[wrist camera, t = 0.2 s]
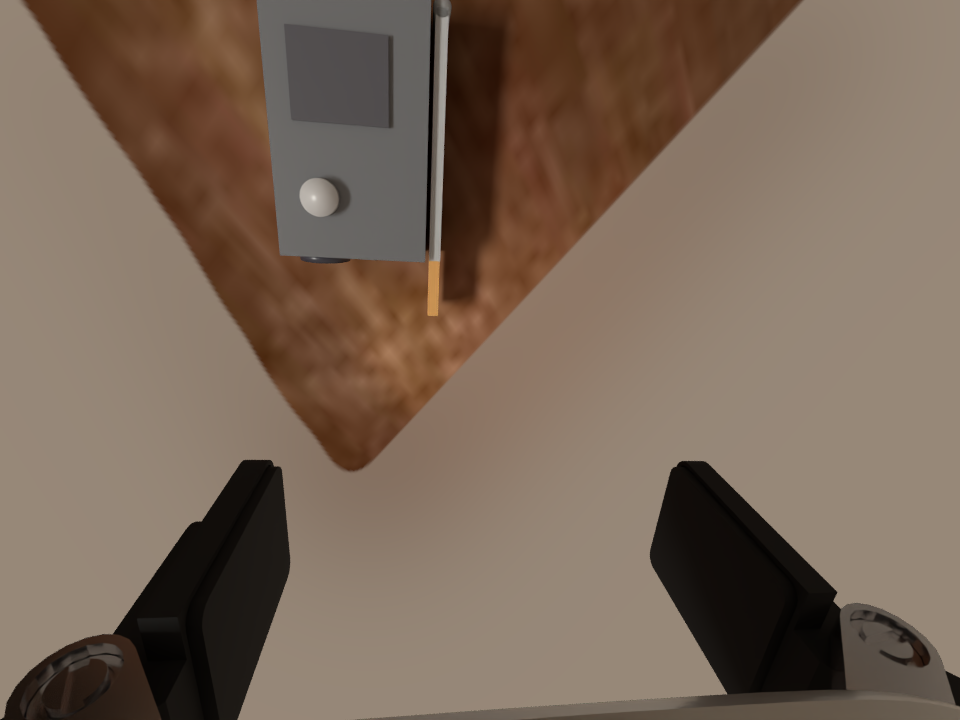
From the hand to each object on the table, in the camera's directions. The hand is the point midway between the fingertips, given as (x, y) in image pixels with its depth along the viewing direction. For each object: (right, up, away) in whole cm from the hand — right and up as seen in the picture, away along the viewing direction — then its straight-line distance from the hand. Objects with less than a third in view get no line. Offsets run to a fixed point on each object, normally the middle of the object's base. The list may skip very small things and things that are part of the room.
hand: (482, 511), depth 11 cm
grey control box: (-9, +20, +24) cm, 32 cm away
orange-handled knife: (-3, +18, +25) cm, 31 cm away
